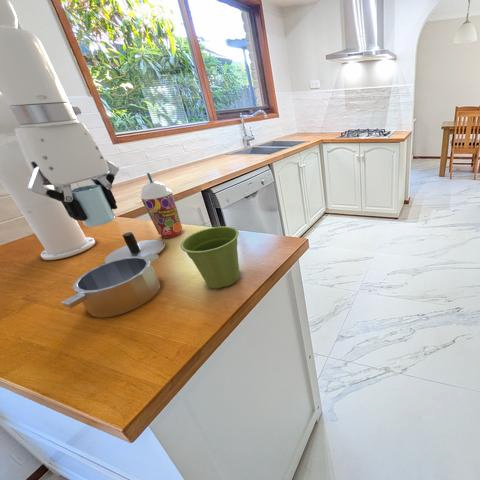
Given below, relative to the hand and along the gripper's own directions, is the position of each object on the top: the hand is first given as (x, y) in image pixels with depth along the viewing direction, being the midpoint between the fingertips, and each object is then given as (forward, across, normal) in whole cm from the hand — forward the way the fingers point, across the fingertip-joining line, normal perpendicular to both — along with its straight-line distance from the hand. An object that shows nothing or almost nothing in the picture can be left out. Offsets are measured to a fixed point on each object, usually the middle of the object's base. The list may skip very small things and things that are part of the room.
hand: (96, 213), depth 58 cm
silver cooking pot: (+19, +2, 0) cm, 19 cm away
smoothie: (+19, -26, -18) cm, 37 cm away
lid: (+19, -13, -16) cm, 28 cm away
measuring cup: (+2, 0, 0) cm, 2 cm away
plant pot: (+20, -8, +18) cm, 28 cm away
